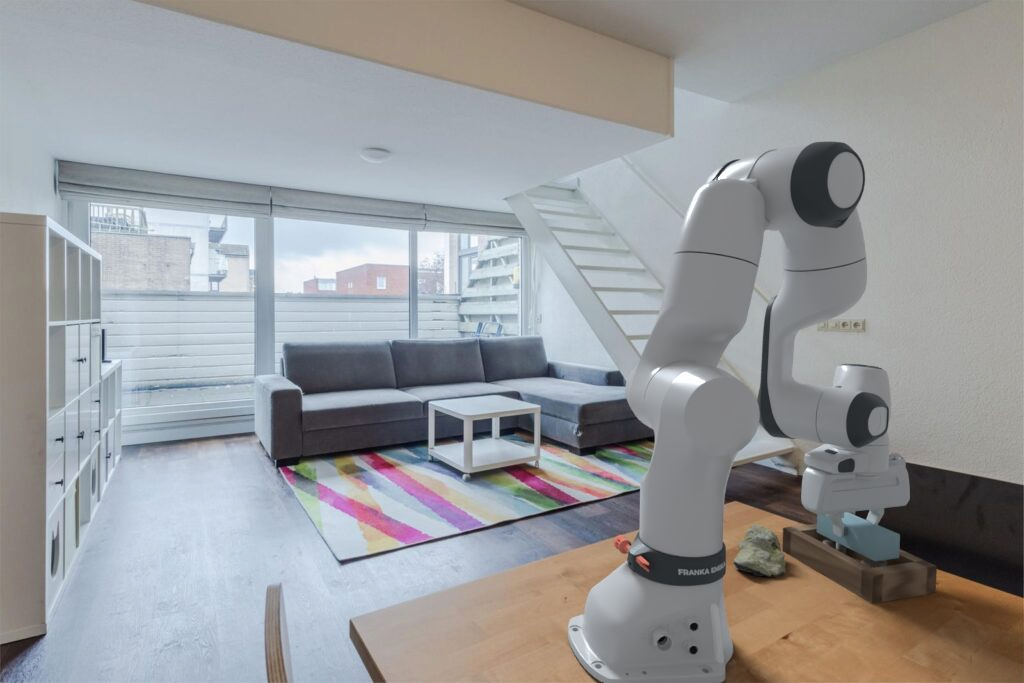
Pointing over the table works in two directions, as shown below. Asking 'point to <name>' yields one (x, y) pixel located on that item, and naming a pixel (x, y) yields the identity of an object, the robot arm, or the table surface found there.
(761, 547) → the rock
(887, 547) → the light blue rectangular block
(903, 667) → the table surface
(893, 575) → the frame
